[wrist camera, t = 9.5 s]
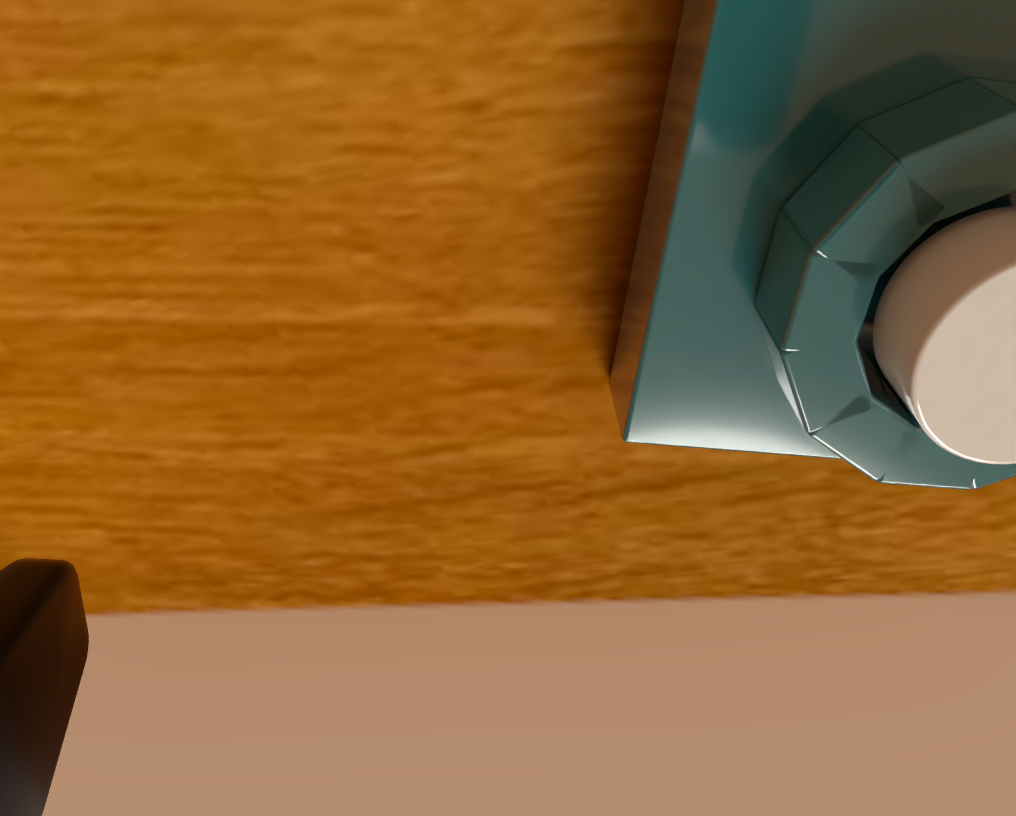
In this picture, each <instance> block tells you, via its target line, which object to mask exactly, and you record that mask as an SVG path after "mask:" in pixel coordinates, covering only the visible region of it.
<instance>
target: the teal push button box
mask: <svg viewBox="0 0 1016 816" xmlns="http://www.w3.org/2000/svg"><path fill="white" fill-rule="evenodd" d="M1010 206H1016V0H685V2H684V8H683V13H682V18H681V23H680V28H679V33H678V38H677V43H676V48H675V53H674V58H673V63H672V68H671V73H670V78H669V83H668V88H667V93H666V98H665V104H664V109H663V114H662V119H661V124H660V129H659V134H658V139H657V144H656V149H655V154H654V159H653V164H652V169H651V174H650V179H649V184H648V189H647V194H646V200H645V205H644V210H643V215H642V220H641V225H640V230H639V235H638V240H637V245H636V250H635V255H634V260H633V265H632V270H631V275H630V280H629V285H628V290H627V296H626V301H625V306H624V311H623V316H622V321H621V326H620V331H619V336H618V341H617V346H616V351H615V356H614V361H613V366H612V371H611V376H610V381H609V385H610V389H611V393H612V397H613V401H614V406H615V410H616V414H617V418H618V422H619V427H620V431H621V435H622V439H623V441H625V442H628V443H641V444H654V445H667V446H679V447H692V448H705V449H718V450H731V451H743V452H756V453H769V454H782V455H794V456H807V457H820V458H833V459H843V460H844V461H846V462H847V463H849V464H850V465H852V466H853V467H854V468H856V469H857V470H859V471H860V472H862V473H863V474H865V475H866V476H868V477H869V478H870V479H872V480H875V481H878V482H880V483H885V484H899V485H912V486H925V487H938V488H951V489H964V490H968V489H971V488H972V489H978V488H981V487H984V486H987V485H990V484H993V483H996V482H999V481H1002V480H1005V479H1008V478H1011V477H1014V476H1016V463H1015V464H988V463H981V462H975V461H972V460H968V459H964V458H962V457H959V456H957V455H955V454H952V453H950V452H948V451H947V450H945V449H943V448H942V447H940V446H939V445H938V444H936V443H935V442H934V441H933V440H932V439H931V438H930V437H929V436H928V435H927V434H926V433H925V431H924V430H923V429H922V428H921V426H920V425H919V423H918V422H917V421H916V419H915V418H914V416H913V415H912V414H911V412H910V411H909V409H908V408H907V407H906V405H905V404H904V402H903V401H902V400H901V398H900V397H899V395H898V394H897V393H896V391H895V390H894V388H893V387H892V386H891V384H890V383H889V381H888V380H887V379H886V377H885V376H884V374H883V372H882V370H881V369H880V367H879V365H878V362H877V359H876V356H875V351H874V346H873V325H874V318H875V313H876V309H877V306H878V302H879V300H880V297H881V295H882V293H883V290H884V288H885V287H886V285H887V283H888V281H889V280H890V278H891V276H892V275H893V273H894V272H895V271H896V269H897V268H898V266H899V265H900V264H901V263H902V262H903V260H904V259H905V258H906V257H907V256H908V255H909V254H910V253H911V252H912V251H913V250H914V249H915V248H916V247H917V246H918V245H920V244H921V243H922V242H923V241H924V240H926V239H927V238H928V237H930V236H931V235H932V234H934V233H935V232H937V231H938V230H940V229H942V228H943V227H945V226H947V225H949V224H950V223H952V222H954V221H957V220H959V219H961V218H963V217H965V216H968V215H971V214H974V213H977V212H980V211H984V210H989V209H993V208H998V207H1010Z"/></svg>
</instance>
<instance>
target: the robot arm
mask: <svg viewBox="0 0 1016 816" xmlns="http://www.w3.org/2000/svg"><path fill="white" fill-rule="evenodd" d="M88 636H89V635H88V628H87V623H86V617H85V612H84V607H83V601H82V596H81V591H80V585H79V580H78V575H77V572H76V570H75V568H74V566H73V565H72V564H71V563H69V562H67V561H64V560H49V559H29V558H26V559H20V560H17V561H15V562H13V563H11V564H10V565H8V566H7V567H5V568H4V569H2V570H1V571H0V816H42V813H43V810H44V807H45V803H46V800H47V796H48V793H49V789H50V786H51V782H52V779H53V775H54V772H55V768H56V765H57V761H58V757H59V754H60V751H61V747H62V743H63V740H64V737H65V733H66V730H67V726H68V723H69V719H70V716H71V712H72V709H73V705H74V702H75V698H76V695H77V691H78V688H79V684H80V680H81V677H82V674H83V670H84V666H85V662H86V659H87V653H88V644H89V643H88V642H89V637H88Z"/></svg>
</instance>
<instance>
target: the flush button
mask: <svg viewBox="0 0 1016 816" xmlns="http://www.w3.org/2000/svg"><path fill="white" fill-rule="evenodd" d="M873 346H874V351H875V356H876V359H877V362H878V365H879V367H880V369H881V370H882V372H883V374H884V376H885V377H886V379H887V380H888V381H889V383H890V384H891V386H892V387H893V388H894V390H895V391H896V393H897V394H898V395H899V397H900V398H901V400H902V401H903V402H904V404H905V405H906V407H907V408H908V409H909V411H910V412H911V414H912V415H913V416H914V418H915V419H916V421H917V422H918V423H919V425H920V426H921V428H922V429H923V430H924V431H925V433H926V434H927V435H928V436H929V437H930V438H931V439H932V440H933V441H934V442H935V443H936V444H938V445H939V446H940V447H942V448H943V449H945V450H947V451H948V452H950V453H952V454H955V455H957V456H959V457H962V458H964V459H968V460H972V461H975V462H981V463H988V464H1015V463H1016V206H1010V207H998V208H993V209H989V210H984V211H980V212H977V213H974V214H971V215H968V216H965V217H963V218H961V219H959V220H957V221H954V222H952V223H950V224H949V225H947V226H945V227H943V228H942V229H940V230H938V231H937V232H935V233H934V234H932V235H931V236H930V237H928V238H927V239H926V240H924V241H923V242H922V243H921V244H920V245H918V246H917V247H916V248H915V249H914V250H913V251H912V252H911V253H910V254H909V255H908V256H907V257H906V258H905V259H904V260H903V262H902V263H901V264H900V265H899V266H898V268H897V269H896V271H895V272H894V273H893V275H892V276H891V278H890V280H889V281H888V283H887V285H886V287H885V288H884V290H883V293H882V295H881V297H880V300H879V302H878V306H877V309H876V313H875V318H874V325H873Z"/></svg>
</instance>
